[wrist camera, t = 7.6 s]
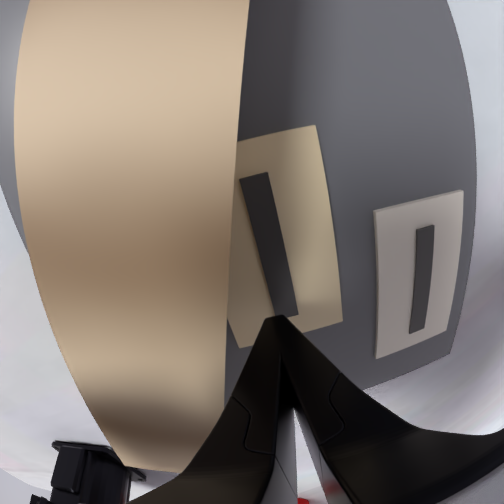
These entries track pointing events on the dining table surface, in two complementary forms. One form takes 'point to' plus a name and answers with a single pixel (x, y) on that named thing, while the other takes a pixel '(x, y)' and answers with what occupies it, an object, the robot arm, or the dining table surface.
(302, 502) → the kitchen timer
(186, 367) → the swing arm
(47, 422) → the dining table surface
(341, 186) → the label panel
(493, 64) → the dining table surface
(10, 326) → the dining table surface
